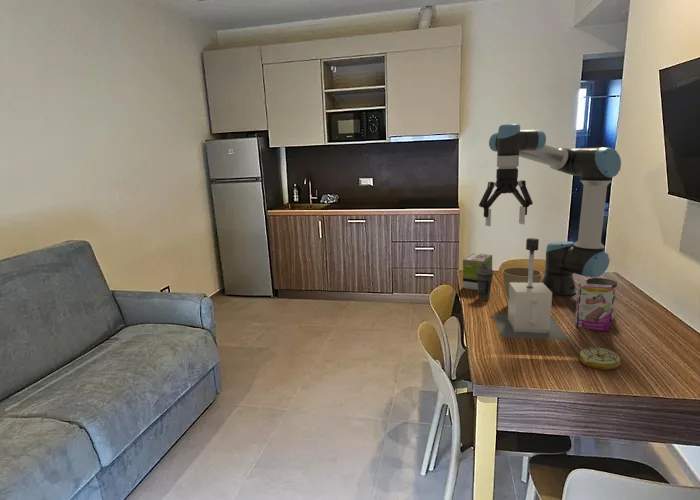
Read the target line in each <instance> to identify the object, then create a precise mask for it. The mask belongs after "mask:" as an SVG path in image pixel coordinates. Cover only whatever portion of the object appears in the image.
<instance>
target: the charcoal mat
mask: <svg viewBox="0 0 700 500" xmlns="http://www.w3.org/2000/svg"><path fill="white" fill-rule="evenodd" d="M492 317H493V319H494V322H495V324H496V326H497V329H498V331H499V333H500V335H501V338H511V339H516V338H517V339H540V340H542V339H543V340H546V339H547V340H570V338H569V337H568V336H567V334H566V333H565V332H564V331H563V330H562V328H561V327H560V326H559V325H558V322H556V321H555V320H554V318H553V317H552V316H551V319H550V333H531V332H514V331H513V329H512V327H511V325H510V323H509V321H508V314H492Z"/></svg>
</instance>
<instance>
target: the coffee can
mask: <svg viewBox="0 0 700 500" xmlns="http://www.w3.org/2000/svg"><path fill="white" fill-rule="evenodd" d="M586 284H599V285H612V286H613V288H614V289H615V293H614V301H613V310H612V318H611V321H612V320H614V317H615V306H616V298H617V297H616V295H617V286H618V282H617V281H615V280H612V279H608V278H603V277H602V278H601V277H597V278H591V277H590V278H588V279H587V280H586Z"/></svg>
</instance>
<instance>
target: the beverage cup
mask: <svg viewBox="0 0 700 500" xmlns="http://www.w3.org/2000/svg"><path fill="white" fill-rule="evenodd" d="M476 274H477V280H478V290H477V295H478V299H479V300H480V301H481V300H483V301H488V300H490V296H491V287H492V283H491V281H492V282H493V276H494V271H493V267H492V268H491V267H490V266H488V265H486V256H485V265H481V266H480V267H479V268H478V269H477V273H476Z"/></svg>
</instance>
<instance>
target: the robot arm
mask: <svg viewBox="0 0 700 500" xmlns="http://www.w3.org/2000/svg"><path fill="white" fill-rule="evenodd" d="M497 130H498V131H497V132H495V133H492V134H491V135H490V137H489V140H488V146H489V148H490V150H491V151H492V152H496V153H497V154H496V156H497V157H496V167H497V169H496V173H495V174H496V177H495V179H496V181H495V182H494V181H488V182H487V187H486V189H485V191H484V194H483V195H482V198H481V200H480V202H479V203H478V207H480V208H483V217H484V218H485V227H491V224H492V208H490V207H491V206H492V205H493V204H494V203H495V201H496V200H497V199H498V197H499V196H500V195H502V194H512V195H513V196H514V197H515V199H516V200H517V201H518V202H519V204H520V206H519V213H518V215H519V216H518V217H519V219H518V224H520V225H525V224H526V223H525V222H526V216H527V215H528V208H529V206H531V205H532V206H533V203H534V202H533V200H532V198H531V194H530V193H529V191H528V189H527V186H526V185H527V182H526V180H525V179H524V180H523V179H522V180H521V179H520V180H518V178H519V169H518V168H517V167H519V160H520V159H519V157H520V158H523V159H526V160H530V161H533V162H537V163H540V164H543V165H547V166H549V167H550V169H552V170H556V171H558V172H561V173H564V174H568V175H571V176H576V177H577V176H578V177H579V181H580V182H581V183H582V184H583V189H582V190H583V191H582V198H581V209H580V215H579V216H580V217H579V227H578V237H577V239H578V240H577V241H575V242H574V241H555V242H549V243H548V244H547V245H546V250H545V265H544V266H545V267H544V275H543V278H542V279H541V280H540V283H544V285H545V286H546V287H547V288H548V289H549V290H550V291H551V292H552V296H553V295H554V296H572V295H575V294H576V293H577V286H576V282H575V280H574V276H573V275H574V274H575V275H578V276H583V277H585V278H590V279H591V278H600V277H601V276H603V274H604V273H606V271H607V270H608V267H609V265H610V261H611V259H610V256H609V254H608V253H607V252H605V245H604V244H603V243H602V233H603V228H604V227H603V226H604V216H605V209H606V200H607V199H606V198H607V192H608V191H607V190H608V186H609V184H611V183H612V182H613V178H614V177H616V176H618V174H619V172H620V171H621V167H622V159H621V156H620V154H619V153H618V151H617V150H616V149H614V148H612V147H603V146H601V147H584V148H581V147H580V148H566V147H561V146H559V147H554V146H553V145H552V146H550V145H548V144H546V143H547V136H546V135H547V134H546V133H545V132H544V131H543V130H541V129H536V128H535V129H521V125H520V124H519V123H509V124H501V125H500V126H498V129H497ZM495 187H496V189H495V190H494V188H495ZM517 187H519V189H520V191H519V190H518V188H517ZM493 190H494V192H493ZM492 192H493V193H492ZM520 192H521V193H520Z"/></svg>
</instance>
